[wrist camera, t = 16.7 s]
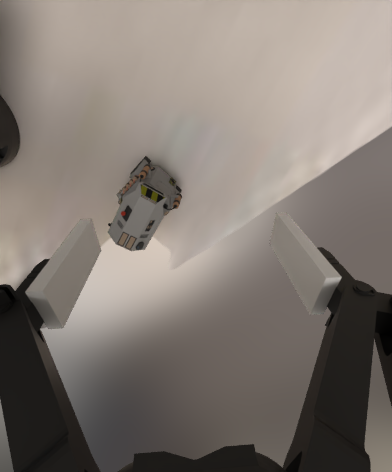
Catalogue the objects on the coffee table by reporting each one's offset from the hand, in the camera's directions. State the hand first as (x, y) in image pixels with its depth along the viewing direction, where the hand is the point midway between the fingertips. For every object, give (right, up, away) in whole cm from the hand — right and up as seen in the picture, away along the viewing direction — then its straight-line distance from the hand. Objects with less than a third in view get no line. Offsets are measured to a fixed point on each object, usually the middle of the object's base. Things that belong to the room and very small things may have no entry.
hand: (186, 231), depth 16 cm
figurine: (-8, +9, +27) cm, 30 cm away
